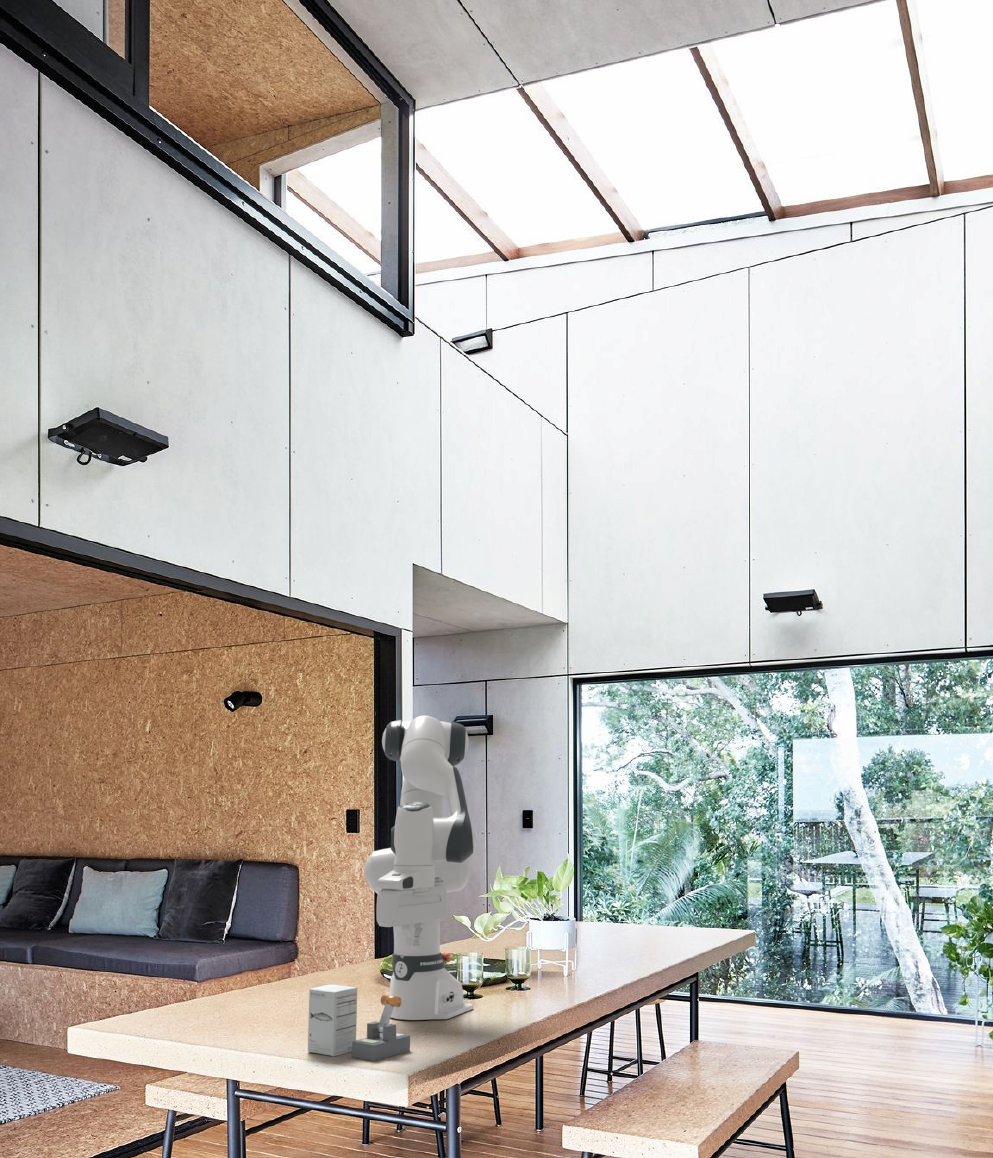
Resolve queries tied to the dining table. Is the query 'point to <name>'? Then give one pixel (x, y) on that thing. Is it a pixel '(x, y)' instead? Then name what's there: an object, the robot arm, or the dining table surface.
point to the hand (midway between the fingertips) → (413, 945)
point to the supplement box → (332, 1019)
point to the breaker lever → (387, 1010)
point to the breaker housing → (380, 1043)
